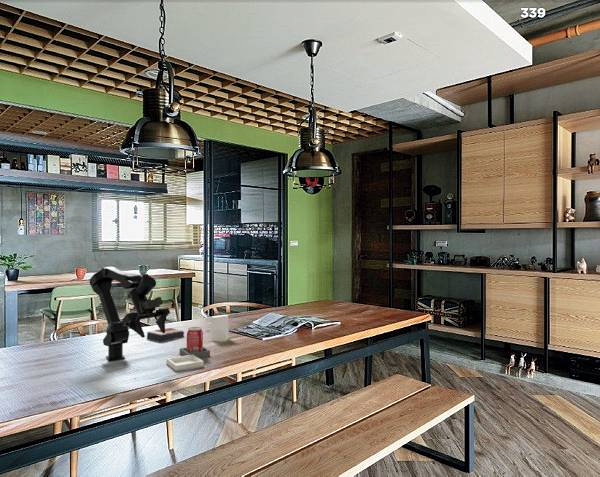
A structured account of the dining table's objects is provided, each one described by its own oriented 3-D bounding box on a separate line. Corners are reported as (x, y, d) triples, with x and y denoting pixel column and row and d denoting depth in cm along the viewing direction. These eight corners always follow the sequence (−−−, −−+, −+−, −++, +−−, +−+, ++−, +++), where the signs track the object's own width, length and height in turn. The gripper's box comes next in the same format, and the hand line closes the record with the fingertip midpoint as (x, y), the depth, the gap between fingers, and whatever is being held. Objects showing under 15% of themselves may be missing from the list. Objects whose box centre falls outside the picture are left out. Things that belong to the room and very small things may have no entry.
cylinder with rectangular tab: (216, 342, 218) (216, 318, 218) (207, 338, 225) (207, 315, 225) (231, 339, 224) (231, 316, 224) (222, 336, 231) (222, 313, 230)
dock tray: (166, 364, 182) (166, 358, 182) (193, 359, 188) (193, 354, 188) (175, 371, 172) (176, 365, 172) (203, 366, 179) (203, 361, 179)
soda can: (197, 352, 200) (197, 326, 200) (205, 355, 195) (206, 328, 195) (183, 354, 195) (183, 328, 195) (191, 358, 190) (192, 331, 190)
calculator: (184, 330, 229) (160, 333, 217) (183, 338, 229) (160, 342, 217) (170, 327, 235) (146, 330, 223) (170, 335, 235) (146, 339, 223)
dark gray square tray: (179, 354, 196) (179, 348, 196) (200, 350, 202) (201, 345, 202) (187, 359, 188) (187, 353, 188) (209, 356, 194) (210, 350, 194)
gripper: (128, 293, 166) (142, 328, 160) (169, 288, 181) (183, 320, 175) (115, 308, 171) (129, 343, 166) (156, 302, 186) (170, 334, 180)
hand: (154, 335), depth 171 cm, fingers open, 9 cm apart
